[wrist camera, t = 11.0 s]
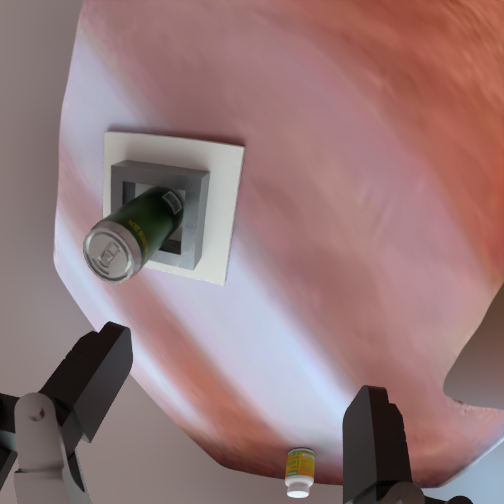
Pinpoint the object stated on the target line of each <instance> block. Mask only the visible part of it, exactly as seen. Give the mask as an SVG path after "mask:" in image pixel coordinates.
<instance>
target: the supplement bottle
mask: <svg viewBox="0 0 504 504" xmlns="http://www.w3.org/2000/svg"><path fill="white" fill-rule="evenodd" d="M314 463H315V453H314V452H313V451H312V450H310V449H305V448H298V449H293V450H291V451H290V452H289V453H288V458H287V467H286V476H285V484H286V485H287V486H288V491H287V494H288V495H289V496H290V497H296V498H302V497H306V496H308V495H309V487H310V486H311V485H312V484H313V481H314Z"/></svg>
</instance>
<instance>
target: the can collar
mask: <svg viewBox="0 0 504 504" xmlns="http://www.w3.org/2000/svg"><path fill="white" fill-rule="evenodd" d="M209 180H210V172H209V171H203V170H197V169H190V168H184V167H177V166H170V165H163V164H155V163H148V162H140V161H132V160H123V161H121V162H118V163H115V164H113V165H111V213H113V212H114V211H116V210H117V209H119V208H120V207H122V206H123V205H125V204H126V203H128V202H129V201H131V200H133V199H134V198H135V188H136V183H140V184H146V185H153V186H159V187H165V188H171V189H177V190H183V191H185V201H184V214H183V227H182V242H180V241H176V240H171V239H167V241H166V242H165V243H164V244H163V245H162V246H161V247H160V248H159V249H158V250H157V252H156V253H155V254H154V255H153V256H152V257H151V258H150V259H149V260H150V261H154V262H158V263H162V264H167V265H171V266H175V267H179V268H184V269H188V270H194V269H195V267H196V266H197V264H198V263H199V261H200V259H201V257H202V246H203V236H204V226H205V216H206V207H207V198H208V189H209Z"/></svg>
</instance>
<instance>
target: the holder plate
mask: <svg viewBox="0 0 504 504" xmlns="http://www.w3.org/2000/svg"><path fill="white" fill-rule="evenodd" d="M244 153H245V146H240V145H234V144H227V143H221V142H214V141H207V140H199V139H192V138H183V137H175V136H166V135H156V134H145V133H134V132H120V131H106V132H105V135H104V158H103V216H104V218H105V217H107V216H108V215H110V214H111V165H113V164H115V163H118V162H121V161H123V160H132V161H140V162H148V163H155V164H163V165H170V166H177V167H184V168H190V169H197V170H203V171H209V172H210V180H209V189H208V198H207V207H206V216H205V226H204V236H203V246H202V257H201V259H200V261H199V263H198V264H197V266H196V267H195V269H194V270H188V269H184V268H179V267H175V266H171V265H167V264H162V263H158V262H154V261H150V260H148V262H147V263H146V264H145V265H144V266H143V267H146V268H151V269H155V270H159V271H163V272H167V273H171V274H175V275H180V276H184V277H188V278H192V279H197V280H201V281H205V282H210V283H214V284H219V285H223V286H224V285H225V282H226V277H227V270H228V262H229V255H230V248H231V241H232V234H233V227H234V220H235V213H236V206H237V199H238V192H239V186H240V179H241V172H242V166H243V159H244ZM153 187H159V186H153V185H146V184H140V183H136V188H135V198H136V197H137V196H139V195H140V194H142V193H144V192H145V191H147V190H148V189H150V188H153ZM168 189H170V190H172V191H173V192H175V193H176V194H177V195H178V196H179V198H180V199H181V201H182V204H183V208H184V201H185V191H183V190H177V189H171V188H168ZM182 227H183V221H182V223H181V225H180V226H179V228H178V229H177V230H176V231H175V232H174V233H173V234H172V235H171V236H170V237H169V238H168V239H171V240H176V241H180V242H182Z"/></svg>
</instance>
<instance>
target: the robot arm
mask: <svg viewBox="0 0 504 504" xmlns="http://www.w3.org/2000/svg"><path fill="white" fill-rule="evenodd" d="M132 363H133V352H132V341H131V331H130V328H128V327H125V326H122V325H119V324H116V323H113V322H111V321H109V322H107V323H106V324H105V325H104V327H103V328H102V329H101V331H100V332H99V333H97V332H95V331H92V332H89V333H88V334H86V335H84V336H83V337H81V338H80V339H79V340H78V342H77V343H76V344H75V345H74V347H73V348H72V350H70V352H69V353H68V354H67V355H66V358H65V359H63V361H62V362H61V364H60V365H59V366H58V367H57V369H56V370H55V371H54V373H53V374H52V376H51V377H50V378H49V379H48V381H47V382H46V384H45V385H44V386H43V388H42V389H41V390H40V391H39V392H37V393H29V394H26V395H24V396H22V397H21V398H20V397H14V396H10V395H5V394H2V393H0V490H1V488H2V486H3V484H4V482H5V480H6V478H7V476H8V474H9V472H10V470H11V468H12V466H13V464H14V462H15V460H16V458H17V456H18V461H19V470H18V471H15V473H14V485H15V491H16V496H17V501H18V504H93V503H92V501H91V499H90V497H89V494H88V491H87V487H86V484H85V480H84V477H83V473H82V469H81V465H80V461H79V457H78V453H77V448H76V446H77V444H78V442H79V441H80V439H82V440H84V441H86V442H88V443H91V441H92V439H93V437H94V436H95V434H96V432H97V430H98V428H99V426H100V424H101V423H102V421H103V419H104V417H105V415H106V413H107V412H108V410H109V408H110V406H111V404H112V403H113V401H114V399H115V397H116V396H117V394H118V392H119V390H120V388H121V387H122V385H123V383H124V381H125V379H126V378H127V376H128V374H129V372H130V370H131V367H132ZM343 504H473V503H472V502H471V500H470V499H468V498H467V497H465V496H456V497H453V498H452V499H450V500H449V501H443V500H438V499H434V498H430V497H427V496H425V495H424V494H423V492H422V490H421V489H420V488H419V487H418V486H417V485H416V484H414V483H413V481H412V477H411V469H410V461H409V454H408V447H407V442H406V435H405V431H404V423H403V417H402V415H401V413H400V411H399V410H398V408H397V406H396V405H395V404H392V403H389V400H388V394H387V390H386V389H385V388H384V387H376V386H368V385H364V386H362V388H361V389H360V391H359V392H358V394H357V395H356V397H355V398H354V400H353V401H352V402H351V404H350V405H349V407H348V408H347V410H346V412H345V414H344V418H343Z"/></svg>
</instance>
